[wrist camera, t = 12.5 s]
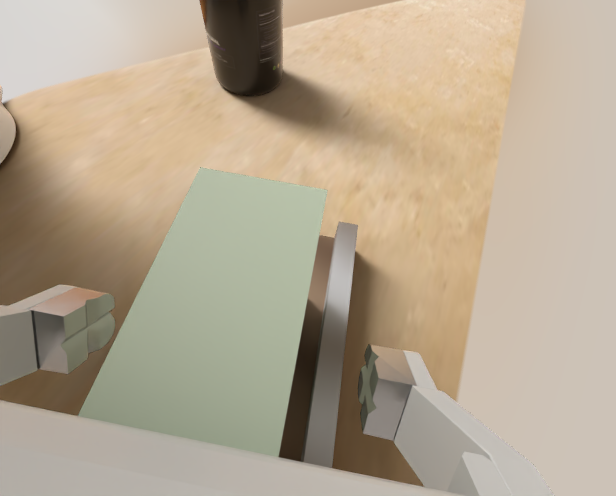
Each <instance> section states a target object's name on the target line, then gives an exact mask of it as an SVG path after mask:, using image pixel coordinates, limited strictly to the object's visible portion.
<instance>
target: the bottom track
mask: <svg viewBox="0 0 616 496" xmlns="http://www.w3.org/2000/svg"><path fill="white" fill-rule="evenodd" d="M357 229H358V225H355V224H349V223H344V222H339V223H338V227H337V230H336V234H335V238H331V237H326V236H320V235H319V239H318V245H317V250H316V256H315V261H314V266H313V272H312V277H311V283H310V288H309V294H308V299H307V305H306V310H305V315H304V321H303V326H302V332H301V337H300V343H299V348H298V354H297V359H296V364H295V370H294V375H293V381H292V386H291V392H290V397H289V403H288V408H287V413H286V419H285V424H284V430H283V435H282V441H281V446H280V452H279V457H280V458H285V459H290V460H295V461H300V462H304V463H309V464H314V465H319V466H324V467H329V468H332V463H333V454H334V444H335V435H336V426H337V416H338V407H339V398H340V388H341V379H342V369H343V360H344V351H345V341H346V332H347V323H348V313H349V304H350V295H351V285H352V276H353V266H354V257H355V248H356V238H357Z"/></svg>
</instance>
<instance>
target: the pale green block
mask: <svg viewBox="0 0 616 496" xmlns="http://www.w3.org/2000/svg"><path fill="white" fill-rule="evenodd" d="M326 196H327V190H325V189H319V188H313V187H308V186H302V185H296V184H291V183H285V182H280V181H274V180H268V179H263V178H257V177H252V176H246V175H240V174H235V173H229V172H224V171H218V170H212V169H207V168H201V167H200V169H199V171H198V173H197V175H196V177H195V179H194V181H193V183H192V185H191V187H190V189H189V191H188V193H187V195H186V197H185V199H184V201H183V203H182V205H181V207H180V209H179V211H178V213H177V215H176V217H175V219H174V221H173V223H172V225H171V228H170V230H169V232H168V234H167V236H166V238H165V240H164V242H163V244H162V246H161V248H160V250H159V252H158V254H157V256H156V258H155V260H154V262H153V264H152V266H151V268H150V270H149V272H148V274H147V276H146V278H145V280H144V282H143V284H142V286H141V288H140V290H139V292H138V294H137V296H136V298H135V300H134V302H133V304H132V307H131V309H130V311H129V313H128V315H127V317H126V319H125V321H124V323H123V325H122V327H121V329H120V331H119V333H118V335H117V337H116V339H115V341H114V343H113V345H112V347H111V349H110V351H109V353H108V355H107V357H106V359H105V361H104V363H103V365H102V367H101V369H100V371H99V373H98V375H97V377H96V379H95V381H94V383H93V386H92V388H91V390H90V392H89V394H88V396H87V398H86V400H85V402H84V404H83V406H82V408H81V410H80V412H79V414H78V416H80V417H85V418H90V419H95V420H100V421H105V422H110V423H115V424H120V425H125V426H129V427H134V428H139V429H144V430H149V431H154V432H159V433H164V434H169V435H174V436H179V437H183V438H188V439H193V440H198V441H203V442H208V443H213V444H217V445H222V446H227V447H232V448H237V449H242V450H246V451H251V452H256V453H261V454H266V455H271V456H275V457H279V452H280V446H281V441H282V435H283V430H284V424H285V419H286V413H287V408H288V403H289V397H290V392H291V386H292V381H293V375H294V370H295V364H296V359H297V354H298V348H299V343H300V337H301V332H302V326H303V321H304V315H305V310H306V305H307V299H308V294H309V288H310V283H311V277H312V272H313V266H314V261H315V256H316V250H317V245H318V239H319V234H320V228H321V223H322V217H323V212H324V207H325V201H326Z"/></svg>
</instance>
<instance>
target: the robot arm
mask: <svg viewBox="0 0 616 496" xmlns="http://www.w3.org/2000/svg"><path fill="white" fill-rule="evenodd" d="M1 100H2V87H1V85H0V164H1V162H2V161H3V160H4V159H5V157H6V156H7V154H8V153H9V151H10V149H11V147H12V145H13V142H14V139H15V134H16V127H15V122H14V119H13V117H12V116H11V114H10V113H9V112H8V111H7V109H6V108H5V107H4V106H3V104H2V102H1ZM114 308H115V304H114V297H113V296H112V295H111V294H108V293H104V292H99V291H94V290H90V289H85V288H79V287H76V286H70V285H61V284H59V285H57V286H55V287H52V288H50V289H47V290H45V291H43V292H40V293H38V294H35V295H33V296H31V297H28V298H26V299H23V300H21V301H19V302H16V303H14V304H11V305H9V306H5V305H0V386H1V385H4V384H6V383H9V382H11V381H13V380H16V379H18V378H21V377H23V376H26V375H28V374H30V373H33V372H35V371H37V370H38V369H41V370H47V371H53V372H59V373H64V374H69V373H70V372H72V371H73V370H74V369H75V368H77V367H78V366H79V365H81V364H82V363H83V362H84V361H86V360H87V359H88V355H89V353H91V352H94V351H97V350H100V349H101V348H102V347H103V346H105V345H106V344H107V343H108V342H109V340H110V338H111V337H112V335H113V333H114V329H115V319H114V318H113V316H112V315H111V313H110V312H111V311H112V310H113V309H114ZM365 362H366V365H365V366H363V367H362V368H361V371H360V376H359V382H358V398H359V402H360V403H361V404H362V409H361V412H360V415H361V422H362V430H363V434H367V435H371V436H375V437H380V438H384V439H388V440H393V441H394V444H395V445H396V446H397V448H398V449H399V451H400V452H401V454H402V455H403V456H404V458H405V459H406V461H407V462H408V464H409V465H410V466H411V468H412V469H413V471H414V472H415V474H416V475H417V477H418V478H419V479H420V481H421V482H422V484H423V485H424V487H422V486H417V485H412V484H407V483H402V482H398V481H393V480H388V479H383V478H378V477H373V476H368V475H363V474H358V473H353V472H348V471H343V470H338V469H333V468H329V467H324V466H319V465H314V464H309V463H304V462H300V461H295V460H290V459H285V458H280V457H275V456H271V455H266V454H261V453H256V452H251V451H246V450H242V449H237V448H232V447H227V446H222V445H217V444H213V443H208V442H203V441H198V440H193V439H188V438H183V437H179V436H174V435H169V434H164V433H159V432H154V431H149V430H144V429H139V428H134V427H129V426H125V425H120V424H115V423H110V422H105V421H100V420H95V419H90V418H85V417H80V416H75V415H71V414H66V413H61V412H56V411H51V410H46V409H41V408H37V407H32V406H27V405H22V404H17V403H12V402H7V401H3V400H0V496H555V495H554V494H553V492H552V491H551V489H550V488H549V486H548V485H547V483H546V482H545V480H544V479H543V477H542V476H541V475H540V473H539V472H538V471H537V469H536V467H535V466H534V464H532V463H531V462H530V461H529V460H528V459H526V458H525V457H524V456H522V455H521V454H520V453H519V452H518V451H516V450H515V449H514V448H513V447H511V446H510V445H509V444H508V443H506V442H505V441H504V440H503V439H501V438H500V437H499V436H498V435H496V434H495V433H494V432H493V431H492V430H490V429H489V428H488V427H487V426H485V425H484V424H483V423H482V422H480V421H479V420H478V419H477V418H475V417H474V416H473V415H472V414H470V413H469V412H468V411H467V410H466V409H464V408H463V407H462V406H460V405H459V404H458V403H457V402H456V401H454V400H453V399H452V398H451V397H449V396H448V395H447V394H446V393H444V392H443V391H439V390H437V388H436V386H435V384H434V382H433V380H432V378H431V376H430V374H429V372H428V370H427V368H426V366H425V364H424V362H423V360H422V358H421V356H420V354H419V353H418V352H413V351H407V350H400V349H394V348H388V347H382V346H376V345H370V344H368V346H367V349H366V352H365Z"/></svg>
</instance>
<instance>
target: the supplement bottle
mask: <svg viewBox="0 0 616 496" xmlns="http://www.w3.org/2000/svg"><path fill="white" fill-rule="evenodd" d="M200 5H201V10H202V14H203V19H204V23H205V29H206V33H207V38H208V43H209V48H210V52H211V57H212V62H213V66H214V71H215V75H216V78H217V80H218V81H219V83H220V84H221V85H222V86H223V87H224V88H226V89H227V90H229V91H231V92H233V93H236V94H239V95H246V96H254V95H261V94H265V93H267V92H269V91H271V90H273V89H274V88H275V87H277V85H278V84H279V83H280V81H281V78H282V73H283V24H282V23H283V18H282V17H283V16H282V15H283V14H282V0H200Z"/></svg>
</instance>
